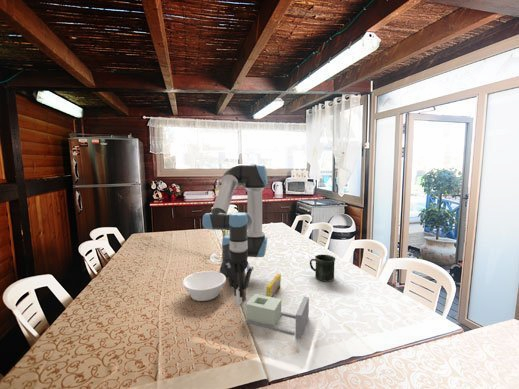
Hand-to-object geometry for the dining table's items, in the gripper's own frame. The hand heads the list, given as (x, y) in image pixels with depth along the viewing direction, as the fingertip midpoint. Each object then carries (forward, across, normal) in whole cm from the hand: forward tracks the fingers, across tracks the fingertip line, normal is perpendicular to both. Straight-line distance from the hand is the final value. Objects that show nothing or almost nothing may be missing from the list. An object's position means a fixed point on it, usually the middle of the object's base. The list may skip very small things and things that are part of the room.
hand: (239, 303), depth 110 cm
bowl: (+6, -24, +9) cm, 26 cm away
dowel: (+5, -4, +10) cm, 12 cm away
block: (+4, +11, 0) cm, 12 cm away
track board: (+6, +16, 0) cm, 17 cm away
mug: (+5, +27, +51) cm, 58 cm away
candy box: (+6, +8, +21) cm, 24 cm away
